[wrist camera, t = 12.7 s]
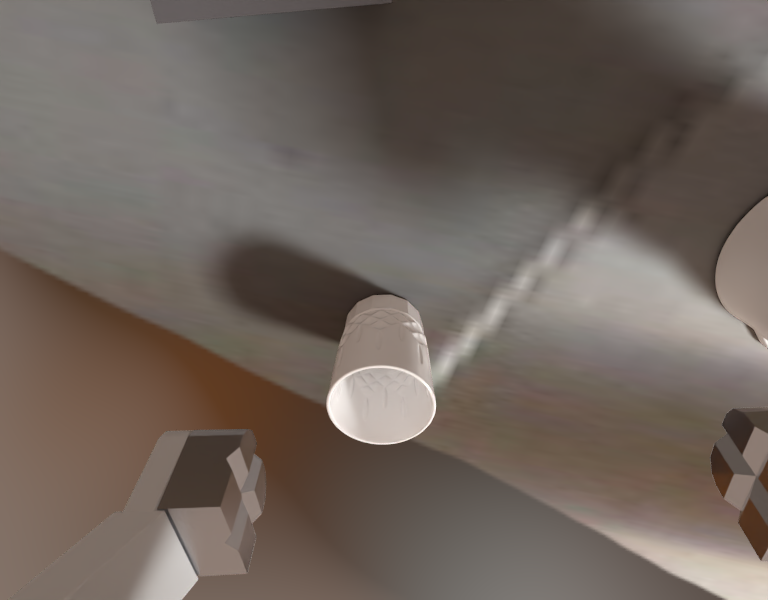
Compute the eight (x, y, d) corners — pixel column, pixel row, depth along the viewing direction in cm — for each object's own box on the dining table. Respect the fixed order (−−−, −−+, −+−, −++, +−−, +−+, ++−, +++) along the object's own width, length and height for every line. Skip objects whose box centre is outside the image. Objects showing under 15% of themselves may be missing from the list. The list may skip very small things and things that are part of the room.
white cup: (419, 365, 49) (423, 451, 41) (334, 353, 48) (321, 437, 40) (438, 295, 45) (447, 374, 36) (345, 280, 44) (333, 358, 36)
